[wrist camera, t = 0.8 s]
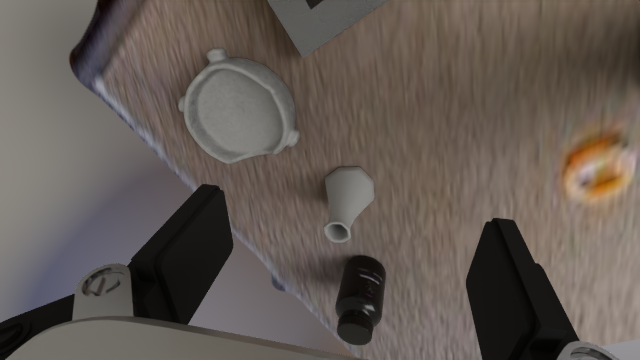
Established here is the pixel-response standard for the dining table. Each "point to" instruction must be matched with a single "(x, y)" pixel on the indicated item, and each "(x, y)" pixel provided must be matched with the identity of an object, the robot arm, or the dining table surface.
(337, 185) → the flask
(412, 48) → the dining table surface
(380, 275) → the supplement bottle
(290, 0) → the gray square-hole block
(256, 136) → the dish
